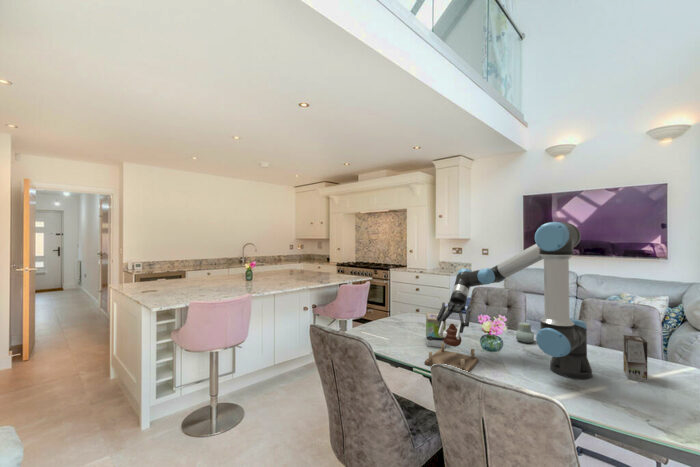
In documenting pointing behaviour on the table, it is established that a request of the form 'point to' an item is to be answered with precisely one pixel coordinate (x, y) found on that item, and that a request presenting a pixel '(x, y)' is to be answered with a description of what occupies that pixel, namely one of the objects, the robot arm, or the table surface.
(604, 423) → the table surface
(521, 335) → the air freshener
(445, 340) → the poop emoji
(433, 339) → the tea box
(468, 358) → the stand
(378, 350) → the table surface
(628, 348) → the coffee box
